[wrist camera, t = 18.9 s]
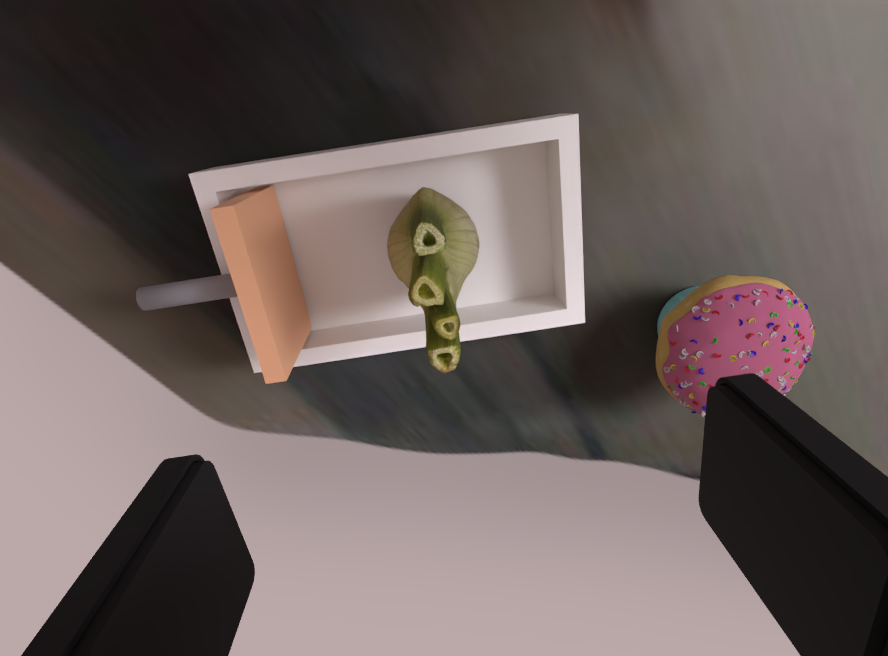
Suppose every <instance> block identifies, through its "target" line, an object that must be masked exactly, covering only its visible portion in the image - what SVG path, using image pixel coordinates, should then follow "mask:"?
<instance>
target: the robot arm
mask: <svg viewBox="0 0 888 656" xmlns="http://www.w3.org/2000/svg"><path fill="white" fill-rule="evenodd" d="M699 505H700V509H701V512H702V514H703V516H704V518H705V519H706V521H707V522H708V524H709V525H710V527H711V528H712V530H713V531H714V532H715V534H716V535H717V537H718V538H719V540H720V541H721V542H722V544H723V545H724V547H725V548H726V550H727V551H728V552H729V554H730V555H731V557H732V558H733V560H734V561H735V562H736V564H737V565H738V567H739V568H740V570H741V571H742V572H743V574H744V575H745V577H746V578H747V580H748V581H749V582H750V584H751V585H752V587H753V588H754V590H755V591H756V592H757V594H758V595H759V597H760V598H761V600H762V601H763V602H764V604H765V605H766V607H767V608H768V610H769V611H770V612H771V614H772V615H773V617H774V618H775V619H776V621H777V622H778V624H779V625H780V627H781V628H782V630H783V631H784V632H785V634H786V635H787V637H788V638H789V640H790V641H791V642H792V644H793V645H794V647H795V648H796V650H797V651H798V652H799V654H800V655H801V656H888V477H887V476H886V475H884V474H883V473H882V472H881V471H879V470H878V469H877V468H875V467H874V466H873V465H872V464H870V463H869V462H868V461H867V460H865V459H864V458H863V457H861V456H860V455H859V454H858V453H856V452H855V451H854V450H852V449H851V448H850V447H849V446H847V445H846V444H845V443H844V442H842V441H841V440H840V439H838V438H837V437H836V436H835V435H833V434H832V433H831V432H830V431H828V430H827V429H826V428H824V427H823V426H822V425H821V424H819V423H818V422H817V421H815V420H814V419H813V418H812V417H810V416H809V415H808V414H807V413H805V412H804V411H803V410H801V409H800V408H799V407H798V406H796V405H795V404H794V403H793V402H791V401H790V400H789V399H787V398H786V397H785V396H784V395H782V394H781V393H780V392H778V391H777V390H776V389H775V388H773V387H772V386H771V385H770V384H768V383H767V382H766V381H764V380H763V379H762V378H761V377H759V376H758V375H756V374H754V373H748V374H741V375H734V376H727V377H721V378H719V379H718V380H717V382H716V384H715V386H713V387H711V388H709V390H708V393H707V402H706V414H705V426H704V439H703V451H702V463H701V475H700V489H699ZM254 575H255V570H254V563H253V560H252V558H251V555H250V553H249V550H248V548H247V546H246V543H245V541H244V538H243V536H242V534H241V531H240V528H239V526H238V523H237V521H236V519H235V516H234V514H233V511H232V509H231V506H230V504H229V501H228V499H227V496H226V494H225V492H224V489H223V487H222V484H221V482H220V479H219V477H218V474H217V472H216V469H215V468H214V465H213V464H212V463H211V462H210V461H204V459H203V458H202V457H201V456H200V455H189V456H183V457H176V458H169V459H166V460H164V461H163V462H162V463H161V464H160V465H159V467H158V468H157V469H156V471H155V472H154V473H153V475H152V476H151V477H150V479H149V480H148V482H147V483H146V484H145V486H144V487H143V488H142V490H141V491H140V493H139V494H138V496H137V497H136V498H135V499H134V501H133V502H132V504H131V505H130V506H129V508H128V509H127V511H126V512H125V513H124V515H123V516H122V517H121V519H120V520H119V522H118V523H117V524H116V526H115V527H114V528H113V530H112V531H111V533H110V534H109V535H108V537H107V538H106V539H105V541H104V542H103V544H102V545H101V546H100V548H99V549H98V550H97V552H96V553H95V555H94V556H93V557H92V559H91V560H90V562H89V563H88V564H87V566H86V567H85V568H84V570H83V571H82V573H81V574H80V575H79V577H78V578H77V579H76V581H75V582H74V584H73V585H72V586H71V588H70V589H69V590H68V592H67V593H66V595H65V596H64V597H63V599H62V600H61V602H60V603H59V604H58V606H57V607H56V609H55V610H54V611H53V613H52V614H51V615H50V617H49V618H48V620H47V621H46V623H45V624H44V625H43V626H42V628H41V629H40V631H39V632H38V633H37V635H36V636H35V637H34V639H33V640H32V642H31V643H30V644H29V646H28V647H27V648H26V650H25V651H24V652H23V654H22V655H21V656H228V654H229V652H230V649H231V646H232V642H233V640H234V637H235V634H236V631H237V628H238V626H239V622H240V620H241V617H242V614H243V611H244V608H245V605H246V602H247V600H248V597H249V594H250V590H251V588H252V585H253V582H254Z"/></svg>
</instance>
